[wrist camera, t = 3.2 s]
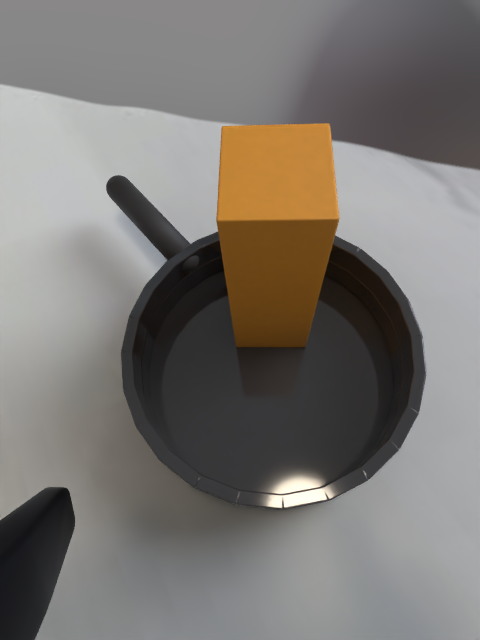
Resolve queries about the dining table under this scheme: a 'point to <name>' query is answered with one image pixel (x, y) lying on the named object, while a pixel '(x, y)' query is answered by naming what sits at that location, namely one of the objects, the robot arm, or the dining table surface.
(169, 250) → the pan handle
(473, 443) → the dining table surface
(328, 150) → the cheese
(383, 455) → the pan
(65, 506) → the robot arm
